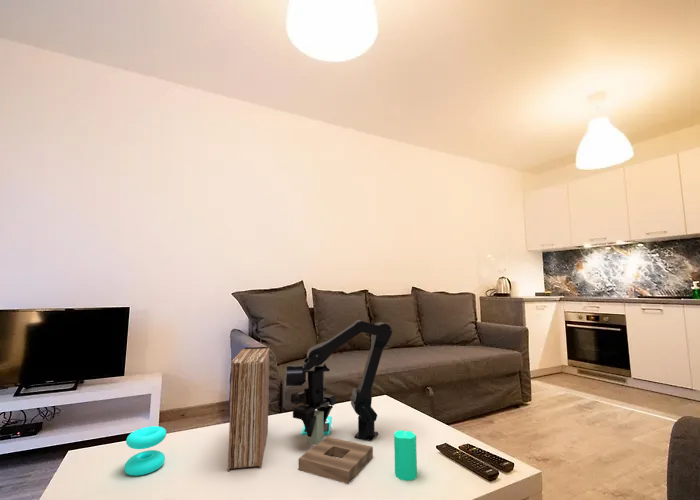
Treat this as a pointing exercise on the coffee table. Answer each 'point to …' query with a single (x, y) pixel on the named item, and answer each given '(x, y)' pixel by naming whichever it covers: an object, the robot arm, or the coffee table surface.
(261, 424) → the book
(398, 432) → the candle
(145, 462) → the donuts
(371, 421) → the robot arm
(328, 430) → the handheld game console
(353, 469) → the walnut well block
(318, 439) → the sage peg
